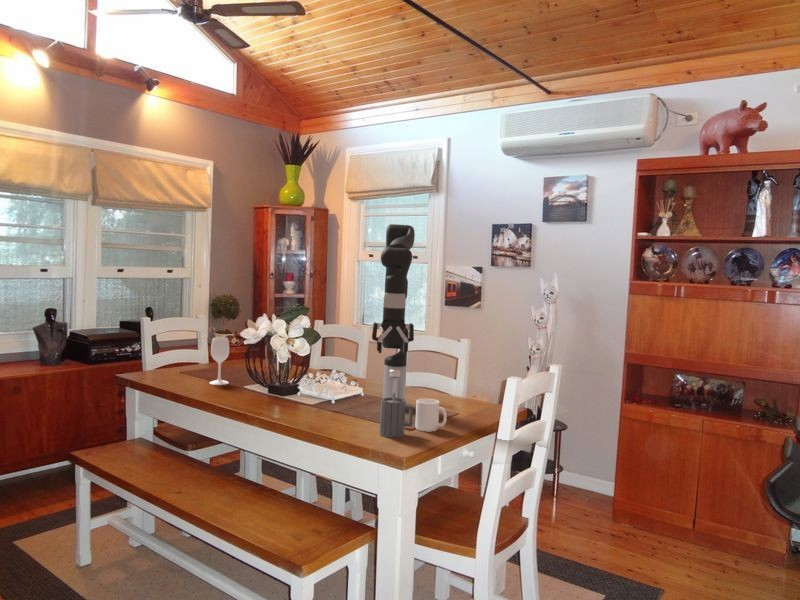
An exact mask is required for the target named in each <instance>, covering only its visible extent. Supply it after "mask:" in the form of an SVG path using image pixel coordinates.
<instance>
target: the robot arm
mask: <svg viewBox="0 0 800 600" xmlns="http://www.w3.org/2000/svg"><path fill="white" fill-rule="evenodd" d="M385 233H386V234H385V247H384V248H383V250H382V251H381V254H380V263H381V265H383V267H384V268H385V276H384V295H383V296H384V297H383V303H382V304H383V306H382V322H381V323H380V322H376V321H375V322H373V323H372V324H373V325H372V334H371V339H372V340H373V341H375V342H376V351H377V352H378V353H379V354H382V349H383V348H384V349H393V350H394V349H395V350H399V351H398V352H397V353H395V354H391V355H389V356H386V357H385V358H384V361H383V362H384V363H383V383H382V384H383V386H382V387H383V388H382V399H383V398H387V397H392V395H393V378H391V377H389V376H390V369H398V370H400V378H396V387H395V397H396V398H402V399H405V400H406V389H407V388H406V383H407V368H408V367H407V366H408V365H407V364H408V363H407V360H408V351H409V343H410V342H414V340H415V338H414V337H415V335H414V331H415V330H414V327H415V326H414V325H415V324H413V323H411V322H409V323H406V322H405V321H406V320H405V319H406V318H405V317H406V306H407V304H406V302H407V301H406V300H407V298H408V291H409V290H408V289H409V281H408V277H407V276H408V273H409V271H410V267H411V264H412V262H413V253H412V251H411V250H412V248H413V247H414V244H415V238H416V237H415V235H416V233H415V228H414V227H413V226H412V225H408V224H394V223H393V224H389V225H388V226H387V228H386V231H385ZM380 327H381V328H382V332H381V333H380V334H379V335H378V337H377V333H378V330H379V329H380Z"/></svg>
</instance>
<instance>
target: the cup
mask: <svg viewBox="0 0 800 600" xmlns="http://www.w3.org/2000/svg"><path fill="white" fill-rule="evenodd" d="M415 406H416V407H415V423H414V424H415V425H414V426H415V429H416V430H417V429H418V430H417V431H419V430H420V432H424V431H425V432H427V433H429V432H430V433H432V431H433V432H436V431H437V430H438V429H439V428H442V427H444V426H445V425H446V423H447V419H448V417H447V411H446V409H445V408H444V407H443V406H440V401H439V400H437V399H435V398H418V399H416V404H415ZM440 411H441V412H442V414H443V421H442V422H441V423H440V422H439V419H440V418H439V417H440Z"/></svg>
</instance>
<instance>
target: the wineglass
mask: <svg viewBox="0 0 800 600" xmlns="http://www.w3.org/2000/svg"><path fill="white" fill-rule="evenodd" d="M210 355H211V356H210V357H212V359H213V360H214V361H215V362H216V363H217V365H218V367H217V369H218V371H217V379H216V380H215V379H214V380H211V381H210V382H209V385H212V386H225V385H228V384H229V381H227V380H224V379H222V377H221V376H222V375H221V367H222V363H224V361H225V360H226V359H228V357H229V355H230V344H229V338H228V337H223V336H221V337H213V338H212V340H211V346H210Z"/></svg>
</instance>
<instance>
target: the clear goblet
mask: <svg viewBox="0 0 800 600" xmlns="http://www.w3.org/2000/svg"><path fill="white" fill-rule="evenodd" d="M389 377H391V378H393V395H392V400H387V401H388V402H401V401H398V400H395V387H396V378H400V370H398V369H390V376H389Z"/></svg>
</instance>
